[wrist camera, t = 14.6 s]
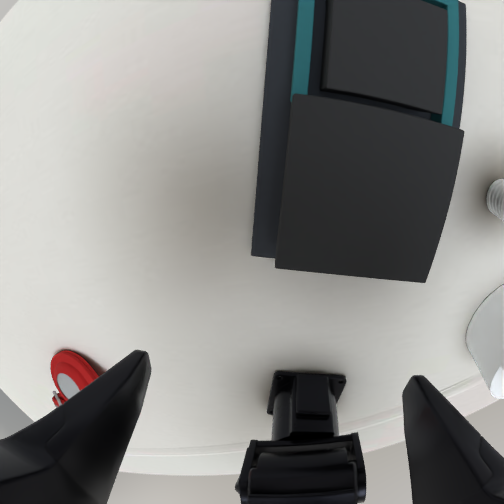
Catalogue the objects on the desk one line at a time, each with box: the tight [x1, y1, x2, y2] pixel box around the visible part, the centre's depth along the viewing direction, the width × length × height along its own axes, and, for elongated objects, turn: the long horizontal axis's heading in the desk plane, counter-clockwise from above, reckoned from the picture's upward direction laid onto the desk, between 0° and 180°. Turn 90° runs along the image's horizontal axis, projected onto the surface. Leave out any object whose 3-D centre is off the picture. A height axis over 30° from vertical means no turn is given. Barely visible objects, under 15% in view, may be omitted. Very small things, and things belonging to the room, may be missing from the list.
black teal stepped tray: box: [251, 0, 466, 283], centre depth 15 cm, size 19×12×4 cm, turn 176°
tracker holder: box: [51, 350, 99, 407], centre depth 30 cm, size 12×4×10 cm
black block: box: [319, 0, 448, 114], centre depth 12 cm, size 6×6×3 cm
